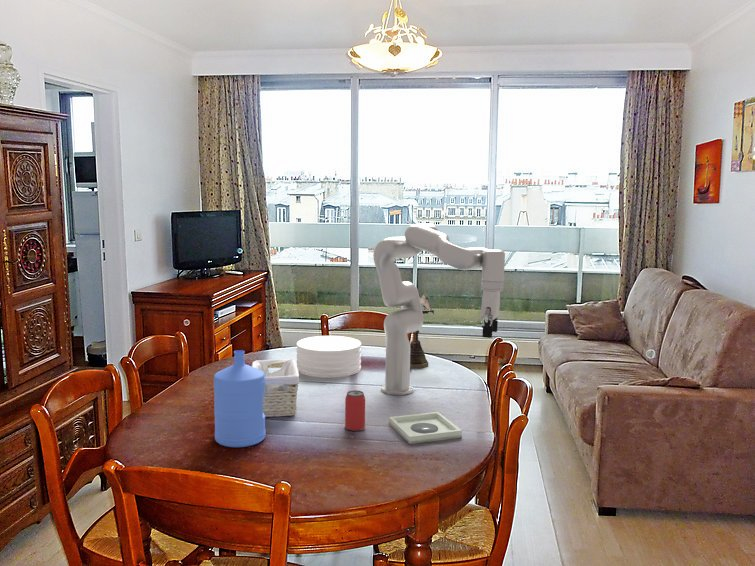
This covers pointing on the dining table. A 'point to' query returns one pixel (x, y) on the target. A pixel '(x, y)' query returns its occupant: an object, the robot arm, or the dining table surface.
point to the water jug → (239, 404)
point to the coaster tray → (425, 427)
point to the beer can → (355, 410)
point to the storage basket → (279, 387)
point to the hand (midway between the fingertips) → (489, 334)
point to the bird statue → (415, 347)
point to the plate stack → (328, 356)
